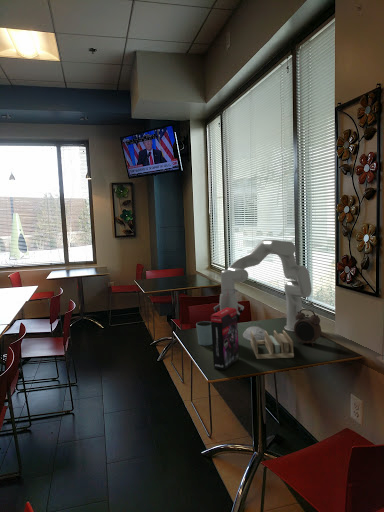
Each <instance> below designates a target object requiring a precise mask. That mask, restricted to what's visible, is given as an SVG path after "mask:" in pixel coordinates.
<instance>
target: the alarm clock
mask: <svg viewBox="0 0 384 512" xmlns="http://www.w3.org/2000/svg"><path fill="white" fill-rule="evenodd" d="M301 311H302V313H301ZM303 311H308V312H312V314H313V315H311V316H309V314H305V313H304V312H303ZM297 313H298V314H296V320H298V321H297V322H296V323H295V325H294V335H295V338H297V339H298V342H297V343H299V344H300V342H301V343H304V344H311V345H312V347H315V346H314V343H315V344H317V342H316V341H317V340H318V339H319V338H320V337H321V335H322V327H321V325H320V323H321V319H320V317H319V314H317V315H316V314H315V312H314V310H312V309H309V308H302V310H300V312H297Z"/></svg>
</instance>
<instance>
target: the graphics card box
mask: <svg viewBox="0 0 384 512" xmlns="http://www.w3.org/2000/svg"><path fill="white" fill-rule="evenodd" d="M217 311H218V310H217ZM210 322H211V329H212V344H211V345H212V355H213V356H212V357H213V358H212V359H213V368H214V369H217V370H222V371H225V370H227V369H228V368H229V367H231V366H232V365H233V364H234V363H235V362H237V361H238V360H239V359H240V349H239V348H240V347H239V329H238V322H237V309H235V308H228V307H226V308H224V309H222V310H220V309H219V311H218V312H215V313H213V314H211V315H210Z"/></svg>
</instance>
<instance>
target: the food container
mask: <svg viewBox="0 0 384 512" xmlns="http://www.w3.org/2000/svg"><path fill="white" fill-rule="evenodd" d="M251 331H252V332H253V335H254V337H255V339H256V341H260V340H265V331H266V330H265V329H264V328H261V327H260V326H254V325H252V326H249V327H247V328H246V329H245V330H244V332H243V333H242V337H243V338H244V339H245V340H247V341H250V342H251Z"/></svg>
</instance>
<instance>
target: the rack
mask: <svg viewBox="0 0 384 512" xmlns="http://www.w3.org/2000/svg"><path fill="white" fill-rule="evenodd" d="M278 334H279V333H278V332H277V331H276V330H275V329H274V330H273V337H274V339H275V340H276V341H277V342H278V343H279V345H280V353H279V354H274V353H273V342H272V340H271V338H270V337H269V333H268V332H267V330H265V340H260V341H256V339H255V337H254V335H253V332H252V331H251V341H250V346H251V348H252V351H253V353H254V355H255V358H256V359H259V360H260V359H261V360H262V359H280V358H281V359H283V358H284V359H285V358H288V359H289V358H290V359H291V358H294V357H295V353H294V341H293V340H292V338H291V337H290V335H289V334H288V333H287V332H286V331H285V329H282V334H283V336H284V337H285V338H286V340H287V341H288V342H289V353H283V341H282V340H281V338H280V337H279V335H278ZM259 345H265V347H266V349H267V351H268V353H259V349H258V348H259V347H258V346H259Z"/></svg>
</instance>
